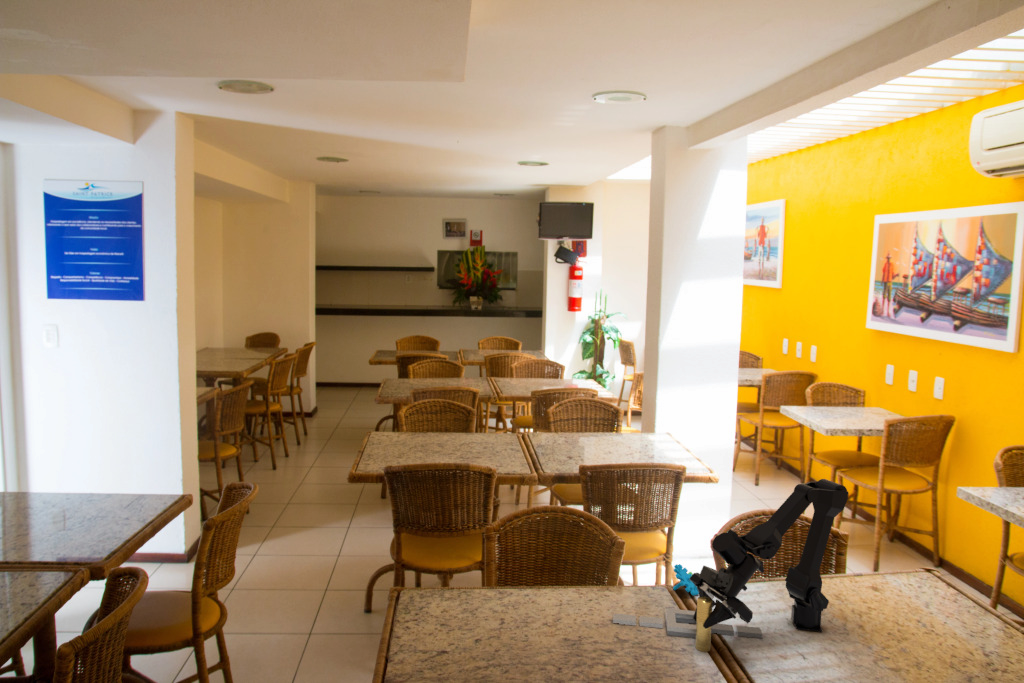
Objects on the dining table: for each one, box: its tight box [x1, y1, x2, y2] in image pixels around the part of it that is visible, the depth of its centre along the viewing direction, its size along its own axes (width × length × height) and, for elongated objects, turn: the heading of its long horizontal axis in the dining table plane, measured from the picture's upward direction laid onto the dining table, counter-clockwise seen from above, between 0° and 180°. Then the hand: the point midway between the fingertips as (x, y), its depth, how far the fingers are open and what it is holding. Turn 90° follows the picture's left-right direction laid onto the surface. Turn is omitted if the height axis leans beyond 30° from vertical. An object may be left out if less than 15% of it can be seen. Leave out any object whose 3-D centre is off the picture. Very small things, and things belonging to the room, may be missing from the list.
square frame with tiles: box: [612, 608, 763, 639], centre depth 184 cm, size 38×10×2 cm, turn 80°
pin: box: [694, 596, 714, 653], centre depth 174 cm, size 4×4×12 cm
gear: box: [672, 564, 699, 597], centre depth 206 cm, size 11×6×10 cm
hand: (699, 623), depth 173 cm, fingers closed on pin, 4 cm apart
